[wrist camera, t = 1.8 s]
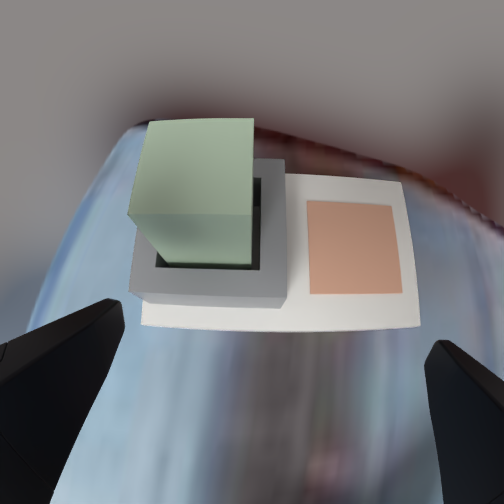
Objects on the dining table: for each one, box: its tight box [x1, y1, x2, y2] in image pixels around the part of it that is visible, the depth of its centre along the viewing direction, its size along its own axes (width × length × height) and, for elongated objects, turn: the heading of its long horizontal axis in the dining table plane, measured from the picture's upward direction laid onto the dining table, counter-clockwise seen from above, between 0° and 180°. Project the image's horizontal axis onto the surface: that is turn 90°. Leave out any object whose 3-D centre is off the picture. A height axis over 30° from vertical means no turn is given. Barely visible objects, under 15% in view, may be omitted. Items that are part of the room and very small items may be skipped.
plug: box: [127, 118, 254, 270], centre depth 17 cm, size 5×5×10 cm
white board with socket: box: [128, 158, 420, 332], centre depth 21 cm, size 12×20×5 cm, turn 89°
